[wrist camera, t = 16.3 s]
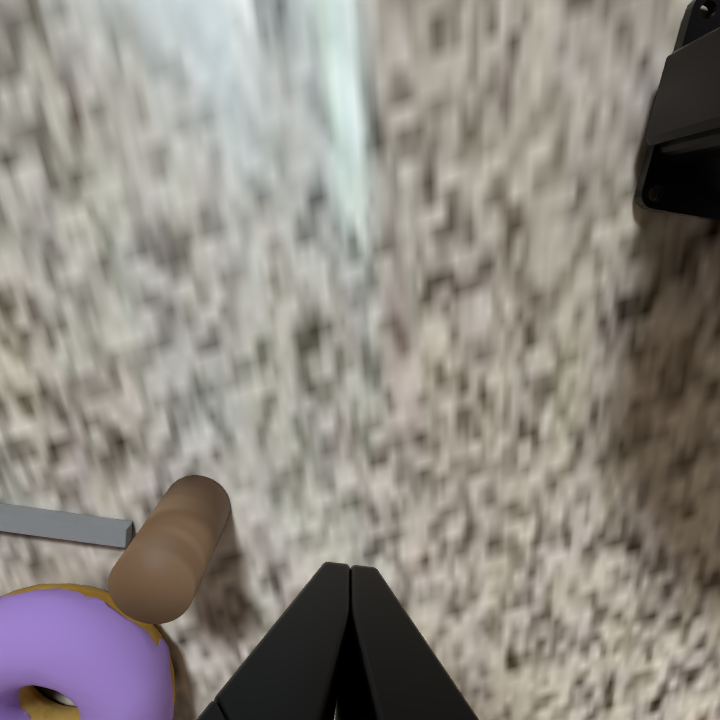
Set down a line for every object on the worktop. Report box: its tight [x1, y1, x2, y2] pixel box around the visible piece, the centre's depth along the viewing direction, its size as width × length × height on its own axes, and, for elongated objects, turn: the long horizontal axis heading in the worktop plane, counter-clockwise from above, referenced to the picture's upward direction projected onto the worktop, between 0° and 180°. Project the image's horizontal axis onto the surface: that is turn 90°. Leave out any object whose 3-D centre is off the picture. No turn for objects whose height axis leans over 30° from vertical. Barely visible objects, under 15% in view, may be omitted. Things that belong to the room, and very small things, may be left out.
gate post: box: [108, 475, 230, 624], centre depth 19 cm, size 3×3×5 cm
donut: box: [0, 584, 175, 720], centre depth 22 cm, size 10×9×5 cm
